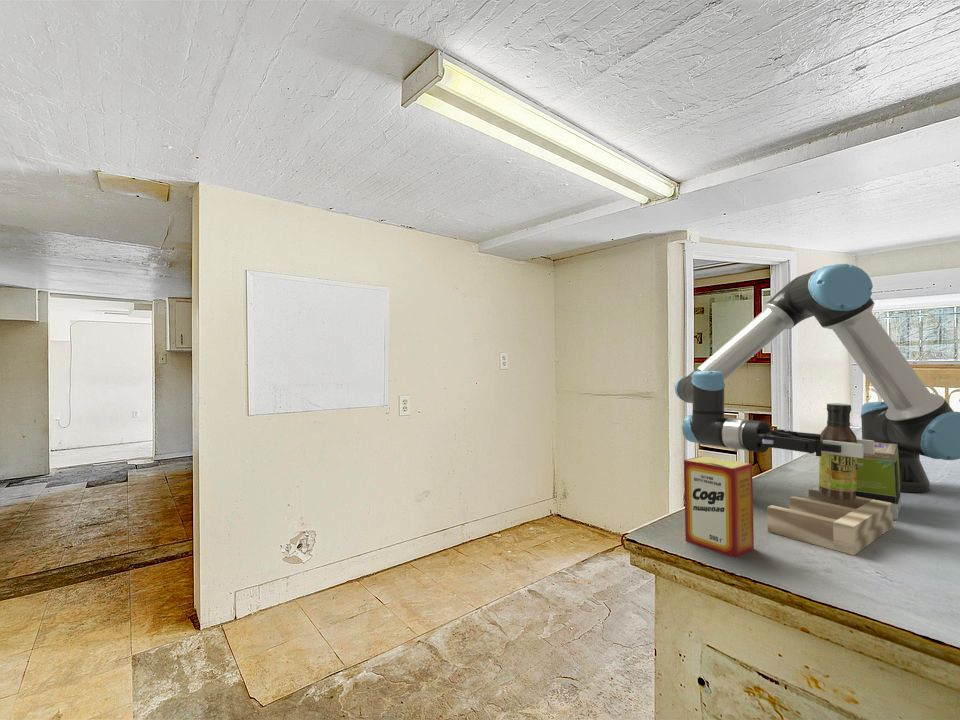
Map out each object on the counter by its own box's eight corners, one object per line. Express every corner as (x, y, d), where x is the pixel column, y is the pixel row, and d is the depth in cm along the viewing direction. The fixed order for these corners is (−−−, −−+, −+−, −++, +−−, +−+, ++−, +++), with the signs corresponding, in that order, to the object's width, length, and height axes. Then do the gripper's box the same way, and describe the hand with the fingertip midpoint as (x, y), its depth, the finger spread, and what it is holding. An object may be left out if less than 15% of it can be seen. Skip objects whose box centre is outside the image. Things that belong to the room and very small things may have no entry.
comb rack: (812, 509, 104) (812, 488, 104) (892, 527, 92) (892, 502, 92) (767, 531, 91) (767, 506, 91) (854, 555, 79) (853, 526, 79)
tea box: (847, 497, 113) (845, 438, 113) (901, 505, 106) (900, 443, 106) (838, 511, 102) (837, 447, 103) (898, 522, 95) (896, 452, 96)
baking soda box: (685, 540, 87) (683, 458, 87) (703, 533, 90) (702, 454, 91) (736, 557, 79) (734, 466, 79) (753, 548, 82) (752, 462, 83)
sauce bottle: (832, 502, 92) (831, 405, 92) (812, 493, 98) (810, 402, 98) (865, 502, 91) (864, 405, 91) (843, 493, 97) (841, 402, 97)
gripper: (765, 446, 115) (883, 461, 96) (727, 455, 104) (852, 474, 85) (765, 417, 115) (882, 426, 96) (727, 422, 104) (851, 435, 85)
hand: (868, 449), depth 90 cm, fingers closed on sauce bottle, 6 cm apart
